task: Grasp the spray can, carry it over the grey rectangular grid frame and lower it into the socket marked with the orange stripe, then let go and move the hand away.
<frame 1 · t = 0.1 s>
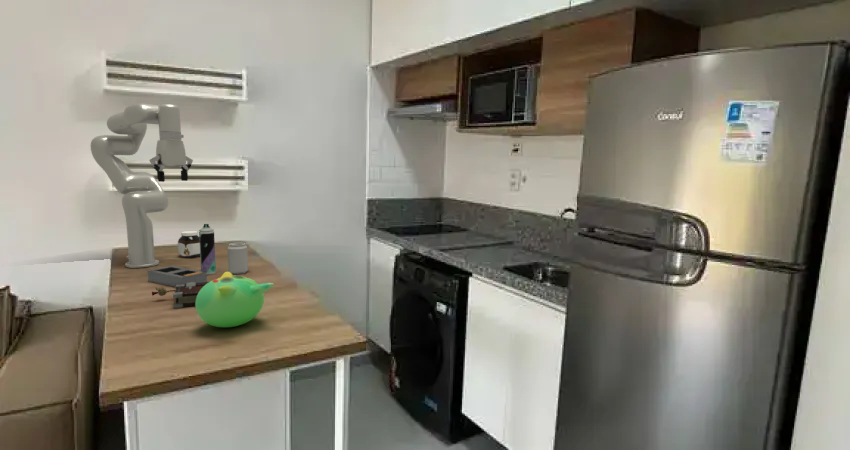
hand: (173, 181, 194), 37 cm above the table, tool pointing down, fingers open, 9 cm apart
dark layered knobbed device: (194, 302, 161), on the table
spread jar: (195, 256, 230), on the table
grey rectangular grid frame: (177, 281, 184), on the table
spray can: (208, 273, 198), on the table
toy bird: (232, 325, 138), on the table
can: (238, 272, 200), on the table
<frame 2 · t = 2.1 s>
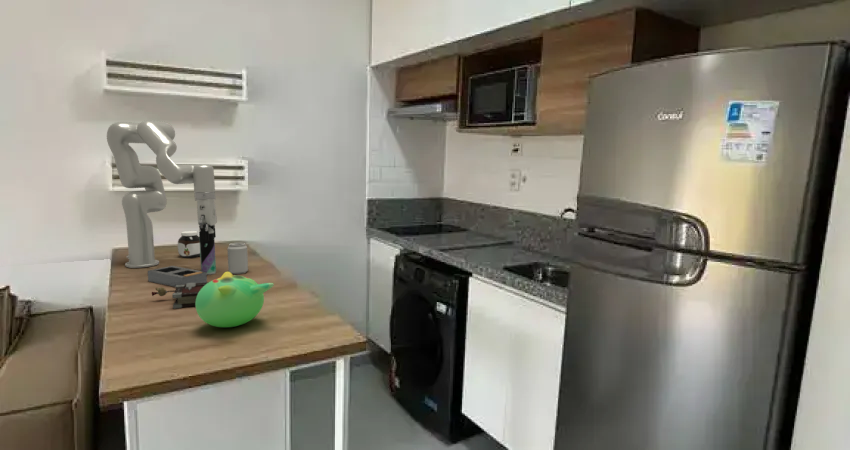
hand: (208, 239, 196), 14 cm above the table, tool pointing down, fingers open, 9 cm apart
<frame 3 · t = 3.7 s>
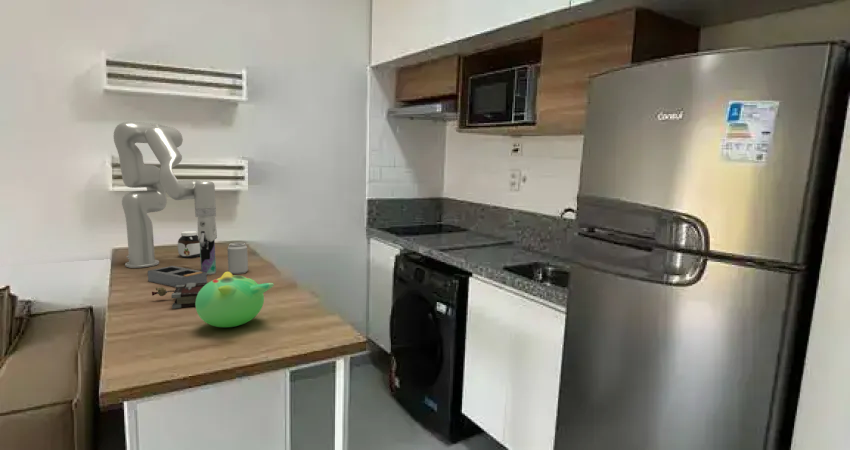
hand: (207, 257, 197), 7 cm above the table, tool pointing down, fingers closed on spray can, 5 cm apart
spray can: (208, 273, 198), on the table, touching gripper
everything else where it was.
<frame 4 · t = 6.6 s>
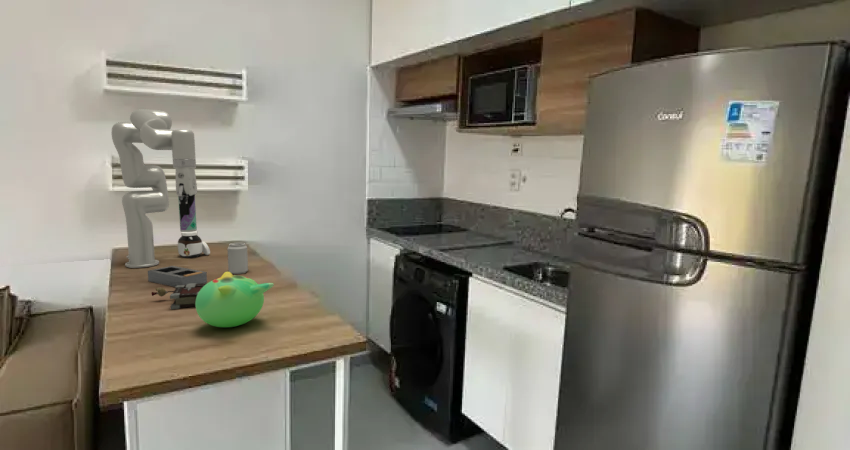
hand: (187, 213, 181), 26 cm above the table, tool pointing down, fingers closed on spray can, 5 cm apart
spray can: (188, 231, 182), point 19 cm above the table, touching gripper
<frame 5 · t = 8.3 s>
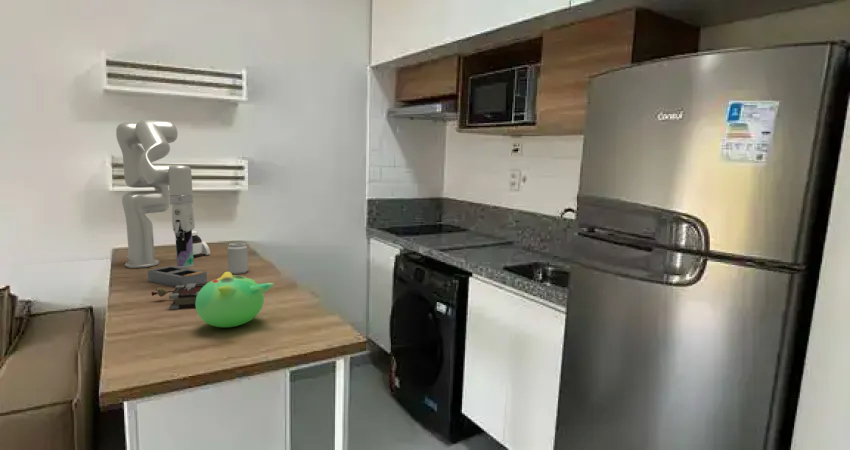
hand: (184, 249, 180), 13 cm above the table, tool pointing down, fingers closed on spray can, 5 cm apart
spray can: (185, 267, 180), point 6 cm above the table, touching gripper
when the fingers open (8 cm above the table, at t = 9.8 s): spray can drops 1 cm, resting in grey rectangular grid frame.
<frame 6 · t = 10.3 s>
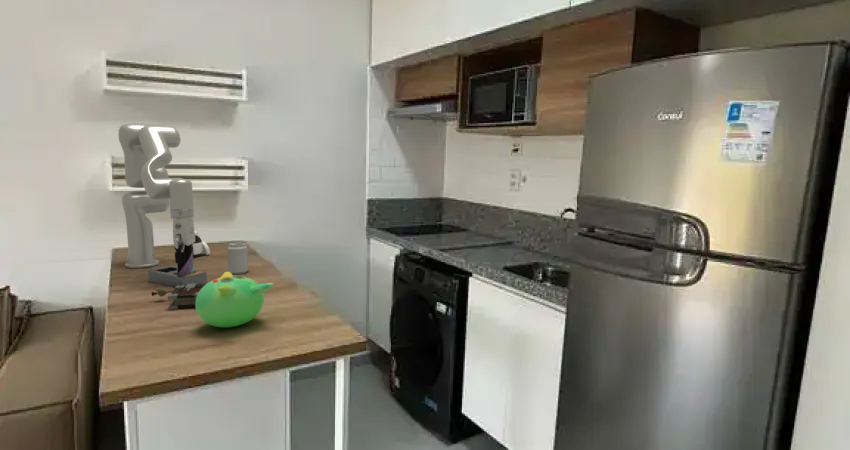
hand: (184, 260, 180), 9 cm above the table, tool pointing down, fingers open, 9 cm apart
spray can: (186, 284, 182), resting in grey rectangular grid frame
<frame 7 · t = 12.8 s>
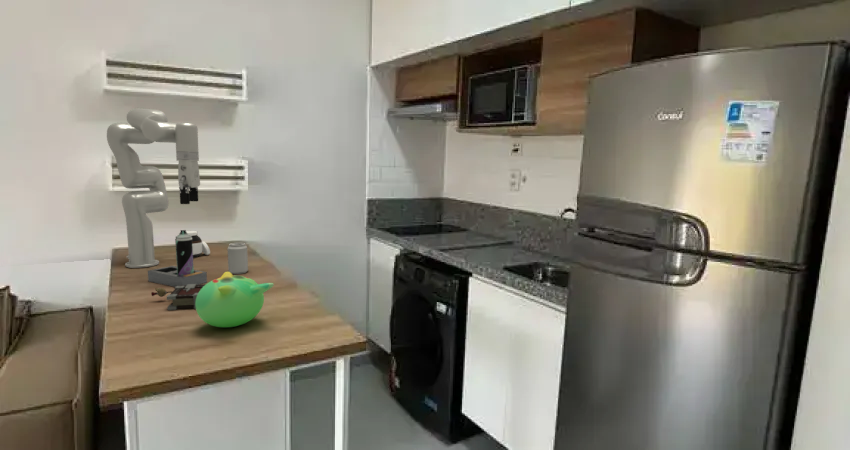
hand: (189, 202, 186), 29 cm above the table, tool pointing down, fingers open, 9 cm apart
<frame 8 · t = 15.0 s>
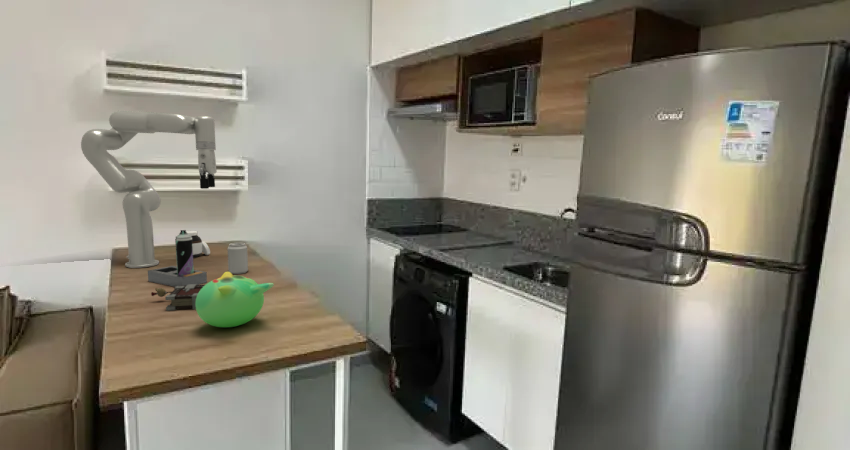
hand: (207, 187, 207), 33 cm above the table, tool pointing down, fingers open, 9 cm apart
at the end: spray can 0.1 cm from the target spot on the grey rectangular grid frame, point 0.0 cm above the grey rectangular grid frame's base; spray can tilted 0°; the gripper is holding nothing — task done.
